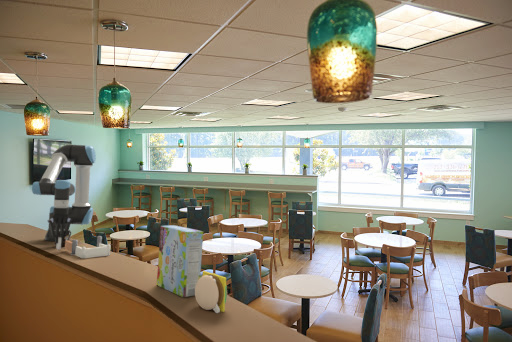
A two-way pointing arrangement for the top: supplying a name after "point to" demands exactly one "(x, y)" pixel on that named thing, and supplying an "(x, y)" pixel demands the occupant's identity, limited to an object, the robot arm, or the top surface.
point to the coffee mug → (64, 238)
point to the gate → (71, 245)
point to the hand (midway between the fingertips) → (58, 248)
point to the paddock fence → (93, 250)
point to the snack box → (179, 259)
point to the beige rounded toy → (211, 292)
